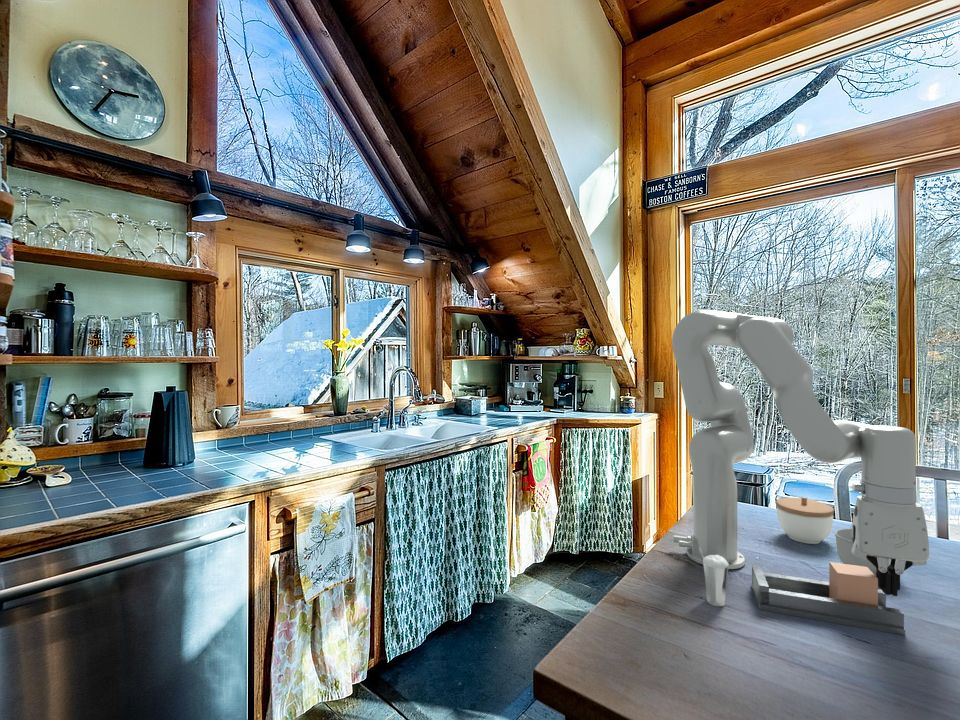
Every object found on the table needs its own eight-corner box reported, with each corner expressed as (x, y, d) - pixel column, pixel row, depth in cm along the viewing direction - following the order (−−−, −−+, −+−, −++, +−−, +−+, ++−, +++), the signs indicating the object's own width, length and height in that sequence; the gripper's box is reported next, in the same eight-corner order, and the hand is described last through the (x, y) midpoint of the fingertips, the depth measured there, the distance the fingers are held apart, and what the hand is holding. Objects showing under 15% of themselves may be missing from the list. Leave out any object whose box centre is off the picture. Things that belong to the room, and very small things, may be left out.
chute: (759, 609, 89) (759, 586, 89) (751, 585, 98) (751, 564, 98) (905, 635, 81) (905, 609, 81) (881, 606, 90) (881, 583, 90)
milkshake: (703, 592, 96) (703, 544, 96) (731, 602, 92) (731, 552, 92) (695, 600, 93) (695, 551, 92) (724, 611, 89) (723, 559, 89)
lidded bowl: (767, 528, 130) (767, 489, 130) (816, 530, 129) (816, 491, 129) (791, 547, 118) (791, 504, 118) (845, 549, 116) (845, 506, 116)
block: (837, 610, 87) (837, 572, 86) (829, 597, 91) (829, 561, 91) (877, 616, 84) (877, 578, 84) (867, 603, 89) (867, 566, 89)
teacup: (882, 586, 98) (882, 548, 98) (825, 565, 108) (825, 531, 108) (912, 571, 104) (912, 536, 104) (855, 553, 114) (855, 521, 114)
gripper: (845, 494, 85) (845, 594, 85) (952, 503, 79) (952, 610, 79) (832, 484, 92) (832, 576, 92) (929, 491, 86) (929, 590, 86)
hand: (888, 591), depth 86 cm, fingers closed
